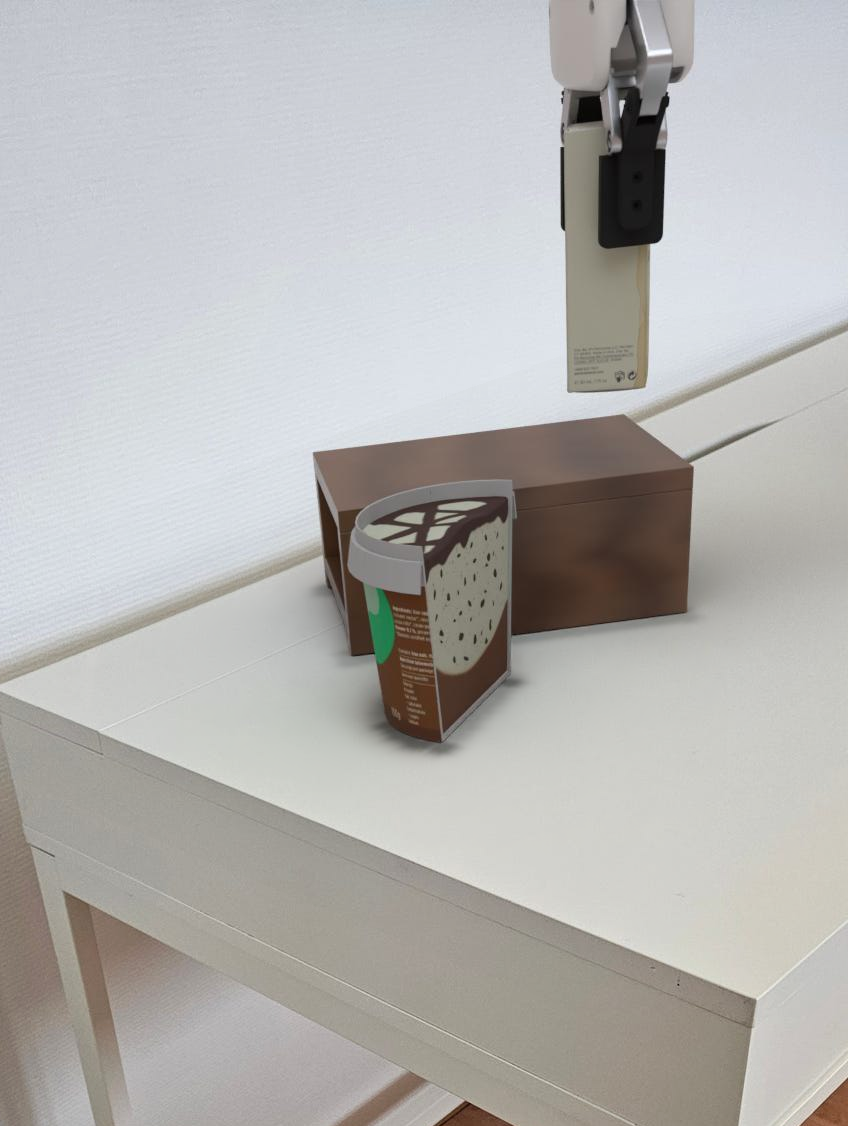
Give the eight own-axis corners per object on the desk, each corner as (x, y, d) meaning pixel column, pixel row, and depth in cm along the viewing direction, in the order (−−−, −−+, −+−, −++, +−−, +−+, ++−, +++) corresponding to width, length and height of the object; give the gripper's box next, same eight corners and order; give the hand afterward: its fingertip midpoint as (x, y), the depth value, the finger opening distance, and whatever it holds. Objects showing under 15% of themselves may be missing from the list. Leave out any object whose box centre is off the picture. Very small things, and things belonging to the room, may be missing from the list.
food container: (420, 654, 81) (408, 472, 75) (520, 663, 78) (516, 476, 73) (320, 740, 72) (298, 543, 66) (429, 754, 70) (416, 550, 64)
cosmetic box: (646, 392, 75) (654, 122, 68) (562, 396, 76) (561, 130, 69) (648, 366, 80) (656, 112, 73) (570, 371, 81) (570, 120, 74)
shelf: (621, 544, 94) (623, 413, 89) (687, 612, 83) (694, 466, 78) (325, 582, 93) (312, 452, 88) (351, 656, 82) (337, 511, 77)
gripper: (765, -252, 57) (735, 248, 67) (641, -192, 71) (632, 214, 81) (583, -235, 56) (581, 265, 67) (495, -178, 70) (504, 228, 81)
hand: (609, 234), depth 74 cm, fingers closed on cosmetic box, 7 cm apart
